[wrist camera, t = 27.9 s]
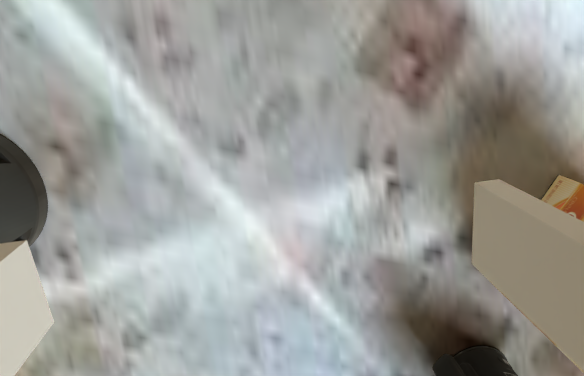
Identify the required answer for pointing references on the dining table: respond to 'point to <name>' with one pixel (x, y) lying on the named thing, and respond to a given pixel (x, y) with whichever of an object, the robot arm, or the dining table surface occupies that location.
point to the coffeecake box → (565, 208)
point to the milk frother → (474, 363)
